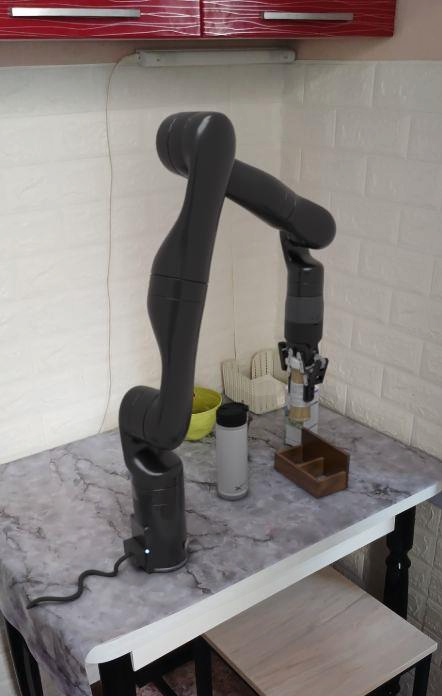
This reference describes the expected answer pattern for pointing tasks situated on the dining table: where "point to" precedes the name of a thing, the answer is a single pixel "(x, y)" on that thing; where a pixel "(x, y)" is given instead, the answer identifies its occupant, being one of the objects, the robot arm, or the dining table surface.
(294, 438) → the syrup box
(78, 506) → the dining table surface
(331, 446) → the spice rack
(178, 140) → the robot arm
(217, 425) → the travel mug
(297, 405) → the brown spice jar
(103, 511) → the dining table surface
